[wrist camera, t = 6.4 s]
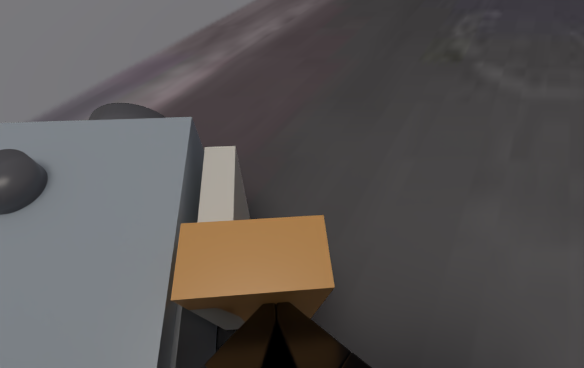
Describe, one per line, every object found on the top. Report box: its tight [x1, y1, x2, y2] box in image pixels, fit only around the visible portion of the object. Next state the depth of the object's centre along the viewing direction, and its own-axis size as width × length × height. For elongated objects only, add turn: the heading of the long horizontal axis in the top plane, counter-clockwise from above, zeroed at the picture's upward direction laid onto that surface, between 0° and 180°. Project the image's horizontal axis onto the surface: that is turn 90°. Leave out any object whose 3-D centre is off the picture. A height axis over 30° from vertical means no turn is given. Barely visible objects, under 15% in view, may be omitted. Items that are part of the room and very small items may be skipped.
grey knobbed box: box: [0, 103, 217, 368], centre depth 12 cm, size 14×8×8 cm, turn 5°
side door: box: [171, 146, 335, 330], centre depth 12 cm, size 6×4×8 cm, turn 5°
